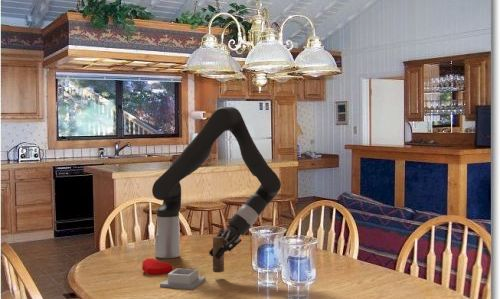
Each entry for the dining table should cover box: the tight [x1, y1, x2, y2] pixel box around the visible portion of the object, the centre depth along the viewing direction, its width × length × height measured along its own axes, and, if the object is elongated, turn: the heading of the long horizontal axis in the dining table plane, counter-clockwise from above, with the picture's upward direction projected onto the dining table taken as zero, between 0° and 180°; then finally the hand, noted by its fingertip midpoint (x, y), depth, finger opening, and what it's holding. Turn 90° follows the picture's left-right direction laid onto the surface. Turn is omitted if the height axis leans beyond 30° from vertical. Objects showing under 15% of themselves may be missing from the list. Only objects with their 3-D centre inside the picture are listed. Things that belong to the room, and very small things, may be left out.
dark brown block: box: [212, 236, 225, 273], centre depth 196 cm, size 4×4×12 cm
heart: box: [141, 258, 174, 276], centre depth 204 cm, size 12×4×10 cm
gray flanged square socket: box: [159, 267, 207, 290], centre depth 190 cm, size 12×12×4 cm
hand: (213, 256), depth 195 cm, fingers closed on dark brown block, 4 cm apart
